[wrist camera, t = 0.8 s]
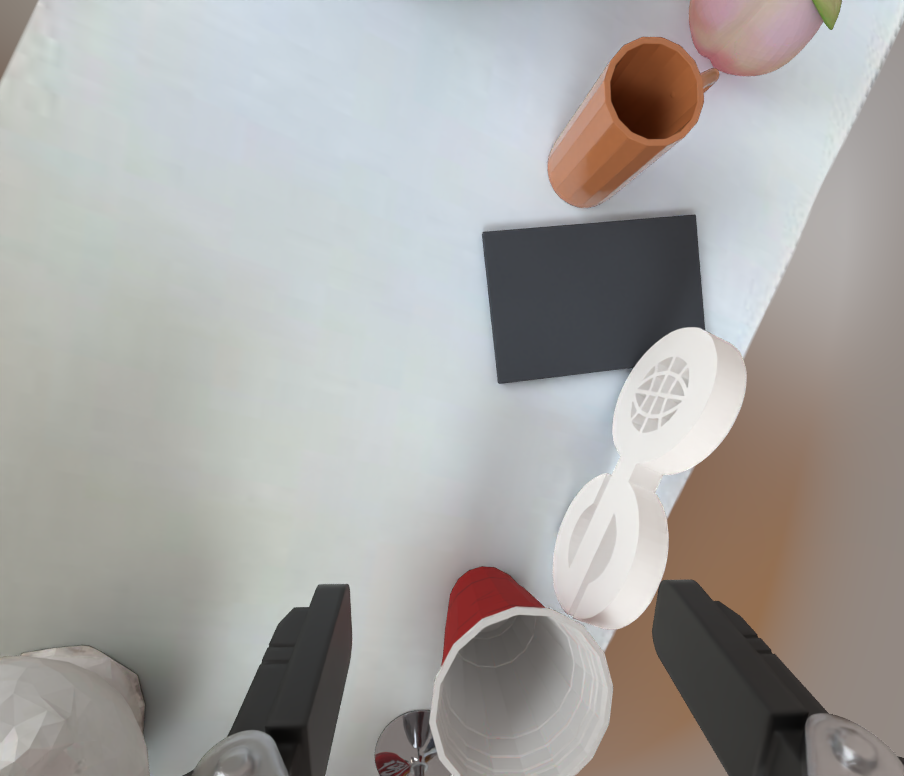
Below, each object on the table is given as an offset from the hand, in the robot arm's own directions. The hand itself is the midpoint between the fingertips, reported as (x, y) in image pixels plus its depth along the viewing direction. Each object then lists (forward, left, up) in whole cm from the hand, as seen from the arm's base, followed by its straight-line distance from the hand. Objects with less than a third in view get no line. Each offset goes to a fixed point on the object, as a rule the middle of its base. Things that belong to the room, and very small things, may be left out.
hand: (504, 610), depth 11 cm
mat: (-10, +15, -24) cm, 30 cm away
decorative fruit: (-30, +27, -24) cm, 47 cm away
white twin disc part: (+3, +14, -24) cm, 28 cm away
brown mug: (-21, +16, -24) cm, 36 cm away
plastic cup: (+13, +3, -24) cm, 28 cm away
